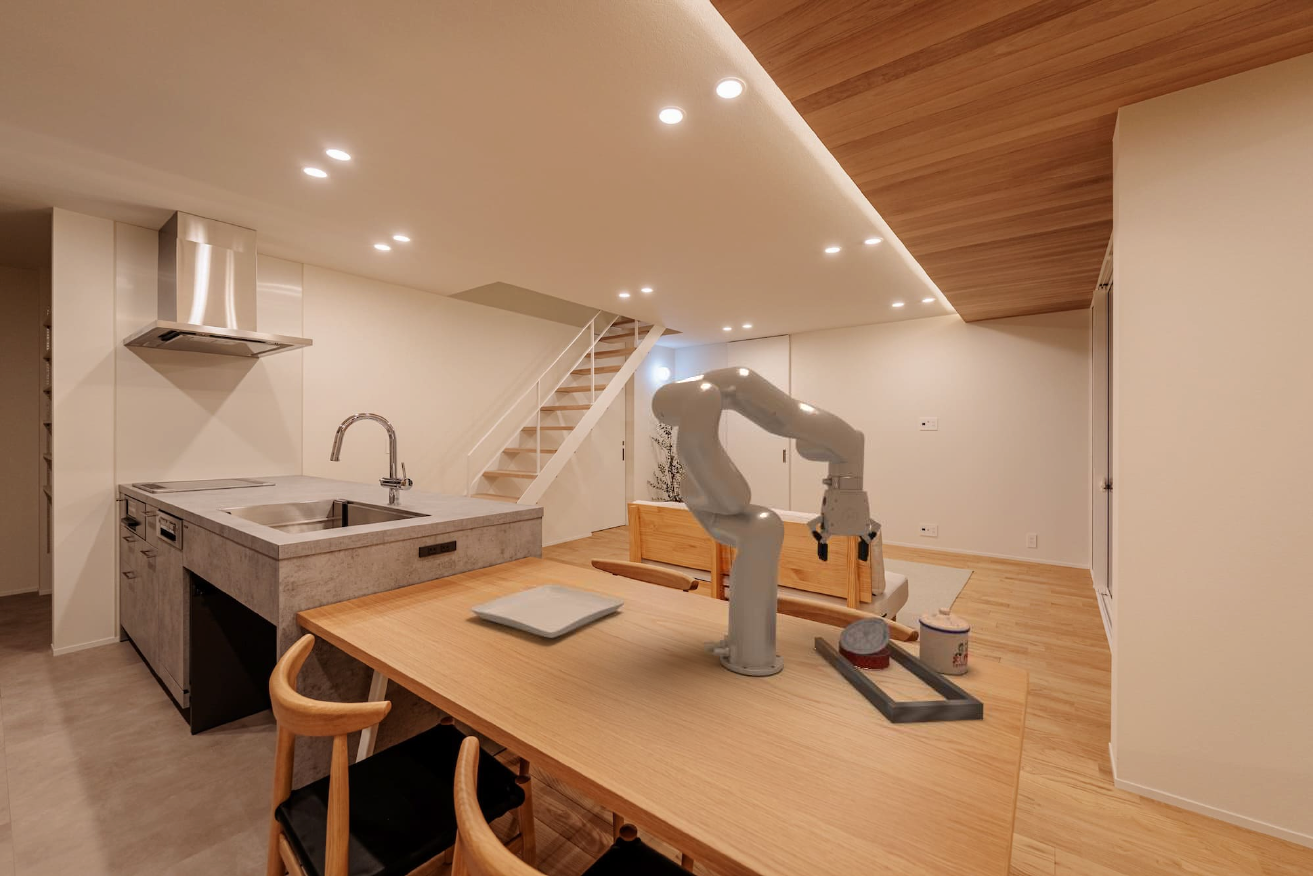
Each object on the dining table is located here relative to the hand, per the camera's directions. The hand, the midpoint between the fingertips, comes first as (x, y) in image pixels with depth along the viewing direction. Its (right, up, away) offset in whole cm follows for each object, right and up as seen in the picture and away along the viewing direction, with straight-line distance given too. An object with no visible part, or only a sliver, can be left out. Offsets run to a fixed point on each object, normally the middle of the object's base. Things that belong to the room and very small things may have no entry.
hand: (842, 560), depth 119 cm
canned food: (+1, -19, -10) cm, 21 cm away
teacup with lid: (+17, -19, -11) cm, 28 cm away
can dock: (+2, -18, -19) cm, 26 cm away
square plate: (-68, -17, +10) cm, 71 cm away
